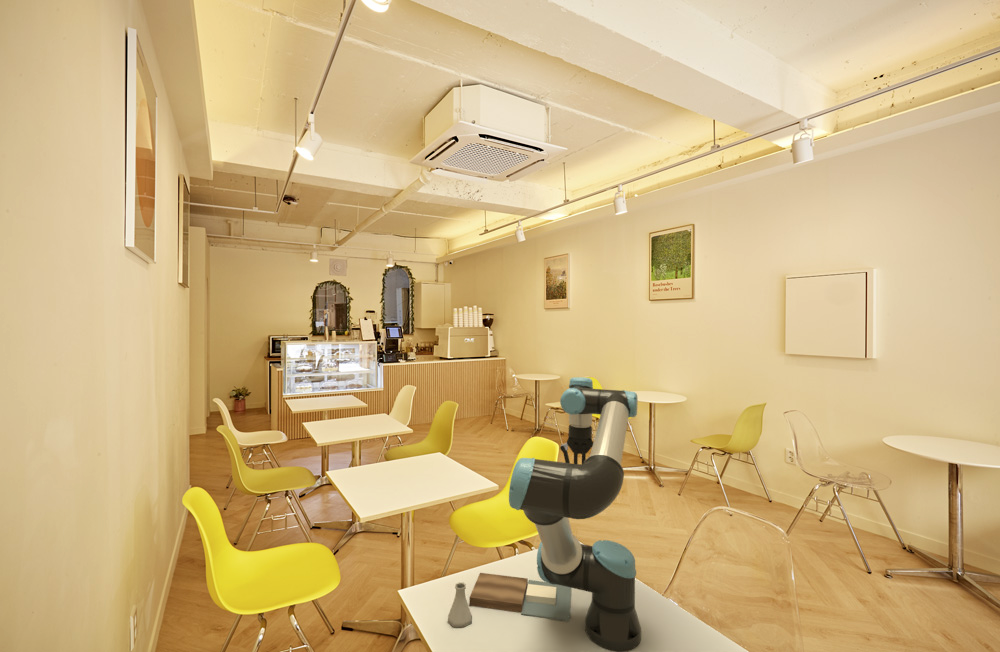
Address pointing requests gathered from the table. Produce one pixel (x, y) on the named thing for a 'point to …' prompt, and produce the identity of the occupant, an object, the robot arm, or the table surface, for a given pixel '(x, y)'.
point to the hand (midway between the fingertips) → (578, 497)
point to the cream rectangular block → (541, 594)
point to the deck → (499, 592)
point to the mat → (547, 610)
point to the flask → (460, 608)
